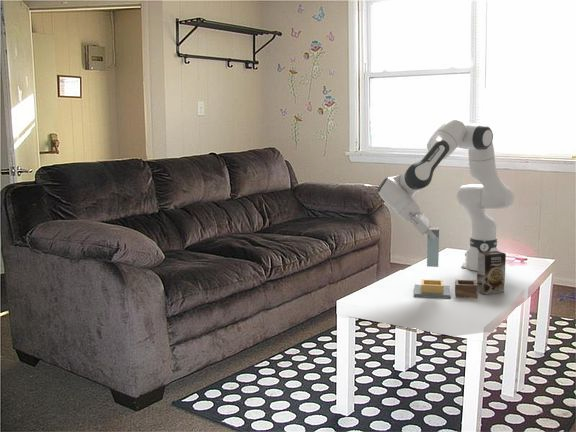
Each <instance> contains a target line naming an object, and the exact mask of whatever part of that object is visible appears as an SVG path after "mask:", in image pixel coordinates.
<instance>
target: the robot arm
mask: <svg viewBox="0 0 576 432" xmlns="http://www.w3.org/2000/svg"><path fill="white" fill-rule="evenodd" d="M493 138H494V133H493V130H492V129H491V128H490V126H487V125H486V124H478V123H472V122H468V123H467V122H463V121H461V120H460V119H458V118H450V119H447V120H446V121H445V122H444V123H443V124H442V125H441V126H439V127H438V128H437V130H436V131H435V132H434V133H433V134H432V135H431V136H430V138H429V140H428V141H427V144H426V149H427V152H426V153H425V155H424V156H423V157H422V159H421V160H419V161H417V162H414V163H413V164H411V165H409V167H408V168H407V169H406V170H405V171H404V172H402V173H399V174H398V175H394V176H387V177H385V178H384V179H383V181H382V182H380V184H379V186H378V189H377V194H378V195H379V196H380V198H381V199H382V200H383V201H384V202H385V204H387V206H388V207H390V208H392V210H394V212H395V213H396V215H398V217H399V218H400V219H402V221H403V222H404V223H407V222H408V223H409V224H411V225H412V226H413V227H414V228H416V230H417V231H418V232H419V233H420V234H421V235H423V236H424V235H425V234H426V235H427V236H428V235H429V236H430V237H431V238H432V239H434V238H435V237H436V235H435V234H434V233H433V232H432V231H431V230H430V229H429V228H432V226H431V225H430V220H429V218H428V217H427V216H426V215H425V213H424V211H422V210H421V208H422V206H421V205H420V204H419V203H418V202H417V201H416V200H415V199H414V198H413V197H412V196H414V195H416V194H417V193H419V192H420V191H421V190H423V189H425V188H426V187H428V186H429V185H430V184H431V182H432V178H433V175H434V171H436V168H437V167H438V166H439V164H441V162H442V161H443V160H446V159H447V158H448V157H450V156H451V154H453V153H454V151H455V150H457V148H459V149H463V150H468V161H469V162H468V163H469V164H468V167H469V174H470V175H471V177H472V178H473V179H474V180H477V181H478V182H479V183H480V184H478V183H469V184H464V185H461V186H460V187H459V188H458V190H457V191H456V200H457V203H458V204H459V205H460V206H461V207H462V208H463V209H464V210H465V211H466V213H467V214H468V217H469V219H470V238H469V248H467V250H466V251H465V252H464V257H465V258H464V261H463V263H462V264H461V268H462V269H467V270H471V271H476V272H477V270H478V252H490V251H498V252H501V251H500V250H499V249H498V247H497V246H498V239H497V221H496V220H495V219H494V218H493V217H492V216H490V215H488V214H487V212H486V210H494V211H495V210H496V211H497V210H499V211H500V210H506V209H510V207H512V205H513V204H514V201H515V195H514V191H513V190H512V188H511V187H509V186H508V185H506V184H505V183H504V182H503V181H502V179H501V178H500V176H499V174H498V172H497V167H496V157H495V156H496V155H495V148H494V144H493V140H494V139H493Z"/></svg>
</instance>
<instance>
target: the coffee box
mask: <svg viewBox="0 0 576 432" xmlns="http://www.w3.org/2000/svg"><path fill="white" fill-rule="evenodd" d="M506 256H507V254H506V253H505V252H502V251H500V252H498V251H490V252H478V270H477V271H476V272H477V273H476V283H477V292H479V293H481V294H483V295H490V294H491V295H492V294H501V293H502V294H504V293H505V280H506V258H507V257H506Z"/></svg>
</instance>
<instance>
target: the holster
mask: <svg viewBox="0 0 576 432" xmlns="http://www.w3.org/2000/svg"><path fill="white" fill-rule="evenodd" d="M454 295H455V298H471V299H477V298H478V291H477V279H475V280H474V279H455V280H454Z"/></svg>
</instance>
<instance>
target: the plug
mask: <svg viewBox="0 0 576 432" xmlns="http://www.w3.org/2000/svg"><path fill="white" fill-rule="evenodd" d="M429 229H430V230H431V231H432V232H433V233H434V234H435V235H436V237H435V238H434V239H432V238H431V237H430V236H429V235H427V237H426V238H427V244H426V245H427V250H426V267H429V268H431V267H432V268H435V267H436V268H439V255H440V254H439V251H440V250H439V249H440V228H439V227H431V228H429Z"/></svg>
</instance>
